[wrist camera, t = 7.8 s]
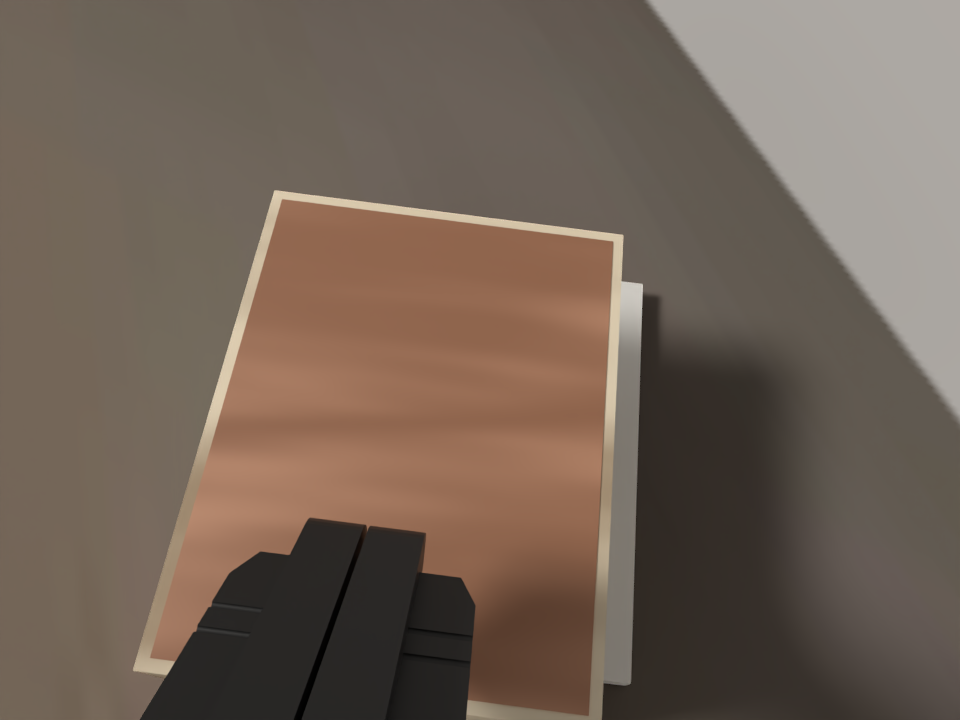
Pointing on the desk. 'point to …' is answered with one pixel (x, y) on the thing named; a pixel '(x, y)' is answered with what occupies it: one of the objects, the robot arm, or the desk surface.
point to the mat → (624, 491)
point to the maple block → (421, 429)
